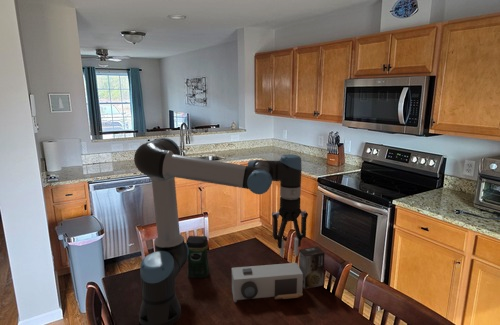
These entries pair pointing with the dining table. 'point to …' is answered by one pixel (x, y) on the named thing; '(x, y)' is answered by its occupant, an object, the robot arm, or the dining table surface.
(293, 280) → the box
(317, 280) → the coffee box
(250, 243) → the dining table surface
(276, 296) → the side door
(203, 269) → the coffee jar
